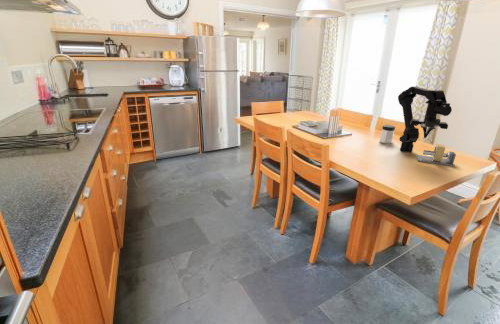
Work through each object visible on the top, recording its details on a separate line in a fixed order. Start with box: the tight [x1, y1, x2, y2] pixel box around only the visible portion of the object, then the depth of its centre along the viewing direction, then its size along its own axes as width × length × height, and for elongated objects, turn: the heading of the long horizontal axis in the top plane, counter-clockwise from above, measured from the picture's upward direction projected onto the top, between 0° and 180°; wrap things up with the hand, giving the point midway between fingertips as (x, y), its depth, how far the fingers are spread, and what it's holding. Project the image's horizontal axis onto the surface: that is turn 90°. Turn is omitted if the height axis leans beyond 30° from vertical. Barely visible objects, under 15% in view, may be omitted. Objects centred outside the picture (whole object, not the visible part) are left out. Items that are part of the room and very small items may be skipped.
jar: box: [379, 124, 396, 144], centre depth 200 cm, size 9×8×12 cm
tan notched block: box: [431, 143, 446, 161], centre depth 163 cm, size 4×6×8 cm, turn 155°
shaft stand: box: [416, 149, 457, 167], centre depth 164 cm, size 18×10×6 cm, turn 65°
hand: (424, 137), depth 167 cm, fingers closed
